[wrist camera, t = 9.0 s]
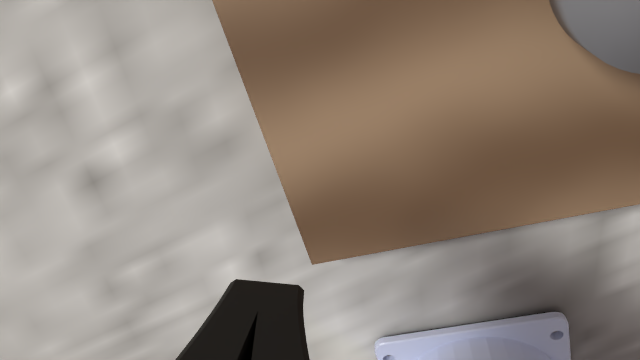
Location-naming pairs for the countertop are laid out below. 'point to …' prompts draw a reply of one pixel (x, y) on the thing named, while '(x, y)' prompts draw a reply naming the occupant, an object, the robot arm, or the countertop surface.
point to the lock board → (432, 118)
